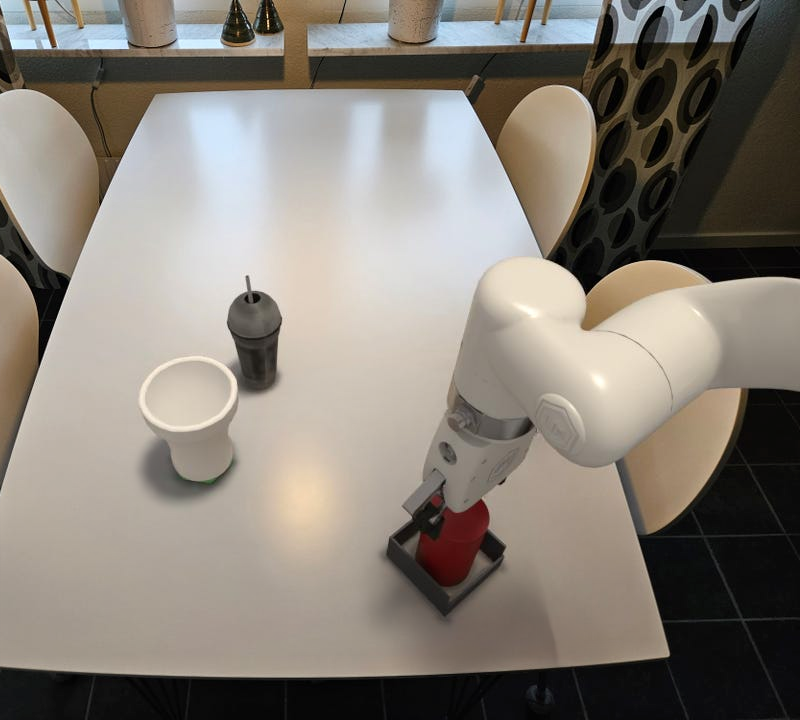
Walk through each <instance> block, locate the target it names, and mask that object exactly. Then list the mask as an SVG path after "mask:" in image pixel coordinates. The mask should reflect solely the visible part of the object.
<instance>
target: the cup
mask: <svg viewBox="0 0 800 720" xmlns="http://www.w3.org/2000/svg"><path fill="white" fill-rule="evenodd" d="M237 381H238V380H237V377H236V376H235V375H234V373H233V372H232V371H231V369H230V368H228V367H227V366H226V365H225V364H224V363H222V362H220V361H218V360H216V359H215V358H211V357H208V356H205V355H189V356H183V357H182V356H181V357H177V358H174V359H172V360H169V361H166V362H164V363H163V364H161V365H158V366H157V367H155V368H154V369H153V370H152V371H151V372H150V373H149V374H148V375H147V376H146V378H145V380H144V381H143V383H142V384H141V386H140V389H139V393H138V407H139V410H140V412H141V415H142V418H143V420H144V422H145V424H146V426H147V427H148V428H149V429H150V430H151V431H152V433H153V434H155V435H157V437H160V438H162V439H163V440H165V442H167V445H168V447H169V449H170V459H171V462H172V465H173V467H174V469H175V471H176V473H177V474H178V476H179V477H180V478H181V479H182V480H186V481H193V482H199V483H200V482H201V483H206V484H209V485H210V484H212V483H213V482H215V480H217V478H218V477H220V476H221V475H222V474H223V473H225V472H226V470H227V469H229V468H230V467H231V465H232V464H233V454H234V453H233V444H232V440H231V438H230V437H229V427H230V424H231V422H232V421H233V419H234V417H235V415H236V413H237V411H238V408H239V389H238V382H237Z"/></svg>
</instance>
